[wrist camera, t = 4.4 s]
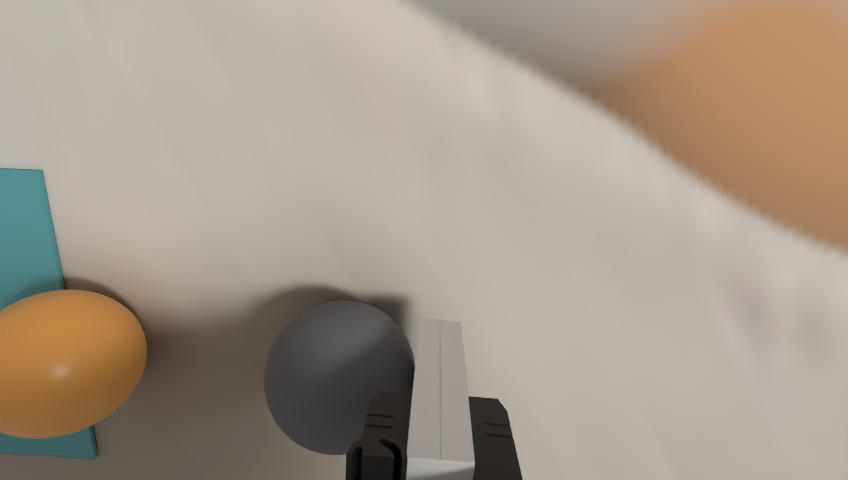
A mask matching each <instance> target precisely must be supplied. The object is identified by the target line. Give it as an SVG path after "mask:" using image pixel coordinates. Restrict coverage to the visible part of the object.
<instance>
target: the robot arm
mask: <svg viewBox="0 0 848 480" xmlns="http://www.w3.org/2000/svg"><path fill="white" fill-rule="evenodd" d="M346 480H522V475H521V471H520V466H519V462H518V457H517V453H516V449H515V444H514V440H513V438H512V431H511V427H510V422H509V418H508V413H507V410H506V409H505V408H504V407H503V405H502V404H501V403H500V402H499V400H498V399H492V398H481V397H469V396H468V389H467V379H466V369H465V359H464V349H463V339H462V329H461V322H455V321H443V320H431V319H420V321H419V331H418V342H417V352H416V362H415V372H414V383H413V393H407V392H395V391H383V390H380V391H379V392H378V393H377V394H376V395H375V396H374V397H373V398H372V399H371V401H370V404H369V408H368V412H367V416H366V421H365V425H364V429H363V433H362V437H361V438H359V439H358V440H357V441H356V442H354V443H353V444H352V445H351V446H350V448H349V450H348V452H347V455H346Z"/></svg>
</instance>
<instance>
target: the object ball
mask: <svg viewBox="0 0 848 480" xmlns="http://www.w3.org/2000/svg"><path fill="white" fill-rule="evenodd" d="M146 360H147V342H146V337H145V334H144V331H143V329H142V327H141V325H140V323H139V321H138V320H137V318H136V317H135V316H134V315H133V314H132V313H131V312H130V311H129V310H128V309H127V308H126V307H125V306H123V305H122V304H120V303H119V302H117V301H116V300H114V299H112V298H110V297H107V296H105V295H102V294H98V293H95V292H90V291H83V290H55V291H49V292H43V293H39V294H36V295H32V296H29V297H26V298H23V299H21V300H19V301H17V302H15V303H13V304H11V305H9V306H7V307H5V308H4V309H2V310H1V311H0V432H1V433H4V434H7V435H11V436H15V437H20V438H32V439H43V438H52V437H59V436H63V435H67V434H71V433H75V432H78V431H80V430H83V429H85V428H87V427H90V426H92V425H94V424H96V423H97V422H99V421H101V420H103V419H104V418H106V417H107V416H109V415H110V414H111V413H113V412H114V411H115V410H116V409H118V408H119V407H120V406H121V405H122V404H123V403H124V402H125V401H126V400H127V399H128V397H129V396H130V395H131V394H132V392H133V391H134V390H135V388H136V386H137V385H138V383H139V381H140V379H141V377H142V374H143V372H144V368H145V365H146Z"/></svg>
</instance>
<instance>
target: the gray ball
mask: <svg viewBox="0 0 848 480" xmlns="http://www.w3.org/2000/svg"><path fill="white" fill-rule="evenodd" d="M414 372H415V362H414V356H413V352H412V349H411V346H410V344H409V341H408V339H407V338H406V336H405V334H404V332H403V331H402V329H401V328H400V327H399V325H398V324H397V323H396V322H395V321H394V320H393V319H392V318H391V317H390V316H388V315H387V314H386V313H384V312H383V311H381V310H380V309H378V308H376V307H374V306H372V305H369V304H366V303H363V302H359V301H353V300H336V301H329V302H325V303H322V304H319V305H316V306H314V307H311V308H309V309H308V310H306V311H304V312H302V313H301V314H300V315H298V316H297V317H296V318H294V319H293V320H292V321H291V322H290V323H289V324H288V325H287V326H286V327H285V328H284V330H283V331H282V332H281V333H280V335H279V336H278V338H277V340H276V341H275V343H274V345H273V347H272V349H271V352H270V354H269V357H268V361H267V365H266V370H265V393H266V399H267V403H268V406H269V409H270V411H271V413H272V415H273V418H274V420H275V421H276V423H277V424H278V425H279V427H280V428H281V430H282V431H283V432H284V433H285V434H286V435H287V436H288V437H289V438H290V439H292V440H293V441H294V442H296V443H297V444H299V445H300V446H303V447H305V448H307V449H309V450H311V451H314V452H317V453H322V454H329V455H343V454H347V452H348V450H349V448H350V446H351V445H352V444H353V443H354V442H356V441H357V440H358V439H359V438H361V437H362V433H363V429H364V425H365V421H366V416H367V412H368V408H369V404H370V401H371V399H372V398H373V397H374V396H375V395H376V394H377V393H378V392H379V391H380V390H383V391H395V392H407V393H413V383H414Z"/></svg>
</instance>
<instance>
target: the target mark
mask: <svg viewBox="0 0 848 480" xmlns="http://www.w3.org/2000/svg"><path fill="white" fill-rule="evenodd" d="M55 290H65V285H64V280H63V275H62V270H61V265H60V259H59V254H58V249H57V244H56V239H55V234H54V229H53V224H52V219H51V213H50V208H49V203H48V198H47V193H46V188H45V183H44V178H43V172H42V170H28V169H2V168H0V311H1V310H2V309H4V308H5V307H7V306H9V305H11V304H13V303H15V302H17V301H19V300H21V299H23V298H26V297H29V296H32V295H36V294H39V293H43V292H49V291H55ZM0 453H13V454H28V455H43V456H58V457H73V458H88V459H95V458H96V457H97V456H98V454H97V449H96V444H95V439H94V434H93V428H92V426H90V427H87V428H85V429H83V430H80V431H78V432H75V433H71V434H67V435H63V436H59V437H52V438H43V439H32V438H20V437H15V436H11V435H7V434H4V433H1V432H0Z"/></svg>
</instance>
